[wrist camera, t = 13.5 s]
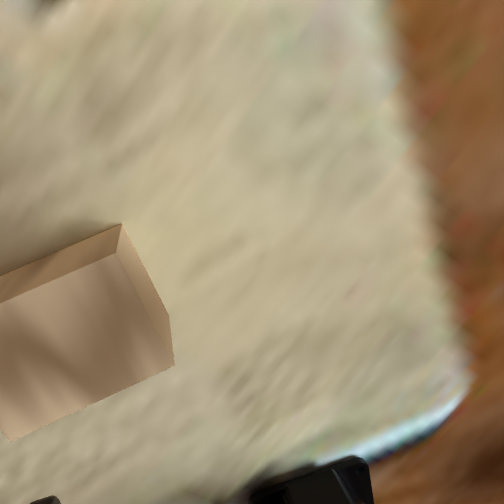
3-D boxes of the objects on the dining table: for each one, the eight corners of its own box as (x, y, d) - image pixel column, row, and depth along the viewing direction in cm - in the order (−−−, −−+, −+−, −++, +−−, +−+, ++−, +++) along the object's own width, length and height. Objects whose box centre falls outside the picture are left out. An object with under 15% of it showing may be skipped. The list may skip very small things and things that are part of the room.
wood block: (174, 365, 16) (10, 442, 15) (168, 313, 20) (38, 372, 20) (115, 252, 14) (-70, 333, 14) (122, 222, 19) (-20, 283, 18)
